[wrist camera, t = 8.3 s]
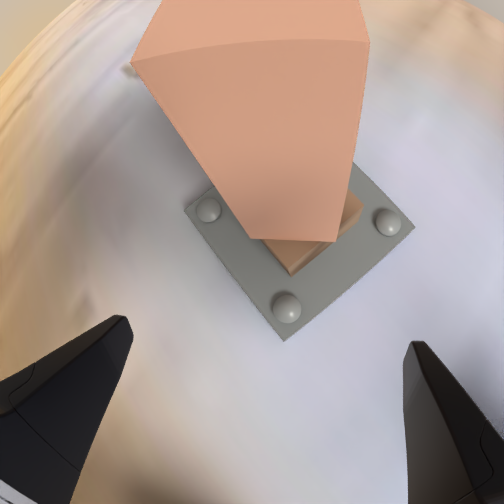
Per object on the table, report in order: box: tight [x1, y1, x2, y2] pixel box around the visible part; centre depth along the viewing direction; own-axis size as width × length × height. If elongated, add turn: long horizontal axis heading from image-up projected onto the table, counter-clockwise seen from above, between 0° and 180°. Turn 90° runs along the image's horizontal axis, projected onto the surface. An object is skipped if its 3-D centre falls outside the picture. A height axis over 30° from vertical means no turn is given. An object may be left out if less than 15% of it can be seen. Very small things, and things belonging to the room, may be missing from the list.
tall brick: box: [130, 0, 370, 242], centre depth 12 cm, size 5×5×14 cm
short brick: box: [260, 189, 364, 277], centre depth 21 cm, size 6×6×3 cm
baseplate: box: [184, 163, 415, 342], centre depth 22 cm, size 12×12×2 cm
